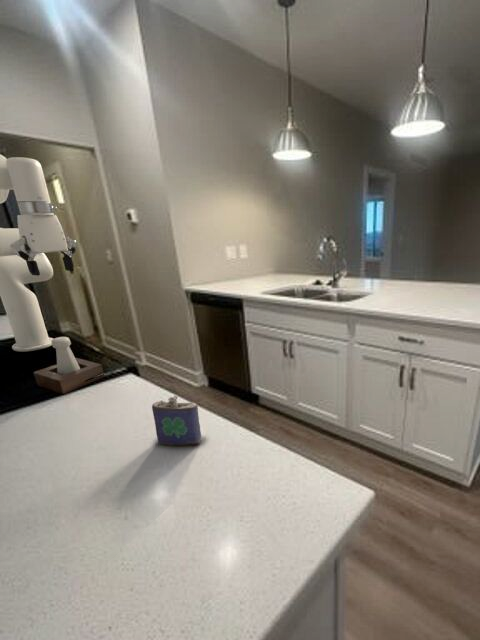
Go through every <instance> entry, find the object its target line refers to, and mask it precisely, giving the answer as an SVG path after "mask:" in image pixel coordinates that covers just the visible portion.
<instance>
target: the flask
mask: <svg viewBox="0 0 480 640" xmlns="http://www.w3.org/2000/svg"><path fill="white" fill-rule="evenodd" d="M177 399H179V397H178V396H176V395H173V396H171V397H169V398H168V399H167V400H168V401H164V400H163V399H161V400H160V401H156V402H153V403H152V405H151V410H152V414H153V420H154V426H155V433H156V439H157V442H158V444H159V445H161V446H167V447H169V446H170V447H178V446H179V447H186V446H187V447H189V446H197V445H200V444H201V443H202V441H203V437H202V432H201V431H202V430H201V423H200V416H199V407H198V404H197V403H196V402H193V401H191V402H178V400H177Z"/></svg>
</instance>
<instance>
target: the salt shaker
mask: <svg viewBox="0 0 480 640" xmlns="http://www.w3.org/2000/svg"><path fill="white" fill-rule="evenodd" d="M51 342H52V345H51V346H52V347H53V349H55V352H56V364H57V373H58V374H60V375H66V374H69V373H71V372H74V371H77V370H79V369H80V367H79V365H78V363H77V361H76V359H75V358H76V357H75V355H74V353H73V351H72V349H71V347H70V346H71V345H72V342H71V340H70V338H69V337H67V336H59V337H55V338H53V340H52V341H51Z"/></svg>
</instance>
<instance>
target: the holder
mask: <svg viewBox="0 0 480 640" xmlns="http://www.w3.org/2000/svg"><path fill="white" fill-rule="evenodd" d="M75 359H76V361H77V363H78V365H79V367H80V369H79V370H77V371H74V372H71V373H69V374H66V375H60V374H58V373H57V363H56V364H54V365H51V366H48V367H45V368H42V369H39V370H36V371H33V377H34V379H35V382H36V385H37V386H38V387H41V388H45V389H46V390H50V391H53V392H56V393H59V394H61V395H66V394H68V393H70V392H72V391H74V390H78V389H80V388H82V387H85V386H86V385H89V384H91V383H94V382H96V381H98V380H101V379H103V378H105V371H104V369H103V368H104V367H103V365H102V364H101V363H97V362H95V361H94V362H93V361H90V360H87V359H82V358H79V357H75ZM102 373H104V374H103V375H100V374H102ZM97 375H100V376H98V377H95V376H97ZM92 377H95V378H93V379H91V380H88V379H90V378H92ZM86 380H88V381H86ZM85 381H86V382H85Z"/></svg>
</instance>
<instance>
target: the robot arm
mask: <svg viewBox="0 0 480 640" xmlns="http://www.w3.org/2000/svg"><path fill="white" fill-rule="evenodd" d="M10 191H13V193H14V196H15V200H16V203H17V206H18V210H19V213H20V214H17V218H16V219H17V228H16V227H15V228H14V227H11V228H9V227H8V228H4V227H0V299H1V302H2V305H3V309H4V311H5V314H6V318H7V319H8V322H9V325H10V328H11V331H12V334H13V338H14V340H15V343H14V344H13V345H12V346H11V349H12V350H13V351H15V352H22V353H23V352H25V353H26V352H33V351H39V350H42V349H47V348H49V347H51V346H52V342H51V341H52V340H53V339H54V338H53V337H50V336H49V334H48V331H47V327H46V324H45V321H44V317H43V315H42V312H41V307H40V304H39V301H38V298H37V295H36V294H35V293H34V292H33V291H31V290H30V289H29V288H28V287H27V286H25V285H27V284H33V283H41V282H47V281H49V280H51V279H53V277H54V269H53V265H52V264H51V262H50V260H49V259H48V257H47V255H46V253H57V252H59V253H60V254H61V255H62V261H63V266H64V269H65V271H68V272H74V270H75V268H74V267H75V265H74V262H73V257H74V253H76V250H77V249H76V248H77V241H76V240H74V239H72V238H70V237H67V236H66V235H65V232H64V229H63V226H62V225H61V222H60V220H59V219H58V216H57V214H55V211H57V209H58V208H57V206H56V205H54V204H53V203H52V201H51V198H50V194H49V190H48V186H47V183H46V178H45V174H44V170H43V167H42V165H41V163H40V162H39V160H37V159H34V158H31V157H23V156H21V157H20V156H15V157H14V156H12V157H8V158H7V157H5V155H2V154H1V153H0V204H3V203H5V202H6V201H7V199H8V196H9V193H10ZM68 244H69V246H68Z"/></svg>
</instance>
